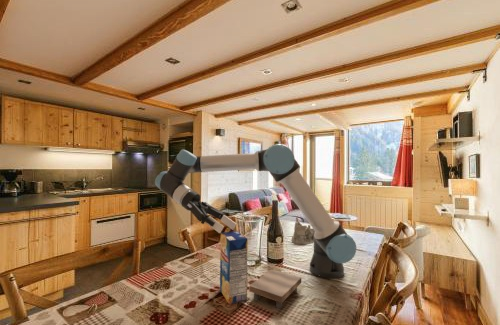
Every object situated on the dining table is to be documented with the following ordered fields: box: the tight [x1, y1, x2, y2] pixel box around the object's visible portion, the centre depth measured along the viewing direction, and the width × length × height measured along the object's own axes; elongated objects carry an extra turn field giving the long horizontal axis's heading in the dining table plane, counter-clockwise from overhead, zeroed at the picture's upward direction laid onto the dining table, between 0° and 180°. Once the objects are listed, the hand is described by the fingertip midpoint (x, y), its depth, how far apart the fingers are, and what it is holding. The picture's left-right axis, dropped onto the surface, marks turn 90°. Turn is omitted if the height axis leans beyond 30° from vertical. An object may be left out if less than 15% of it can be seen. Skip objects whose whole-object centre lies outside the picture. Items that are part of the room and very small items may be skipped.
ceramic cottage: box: [291, 216, 314, 245], centre depth 157 cm, size 16×16×15 cm
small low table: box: [248, 268, 302, 310], centre depth 90 cm, size 17×13×5 cm
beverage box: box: [219, 230, 249, 305], centre depth 90 cm, size 7×11×22 cm, turn 23°
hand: (228, 228), depth 90 cm, fingers open, 13 cm apart
